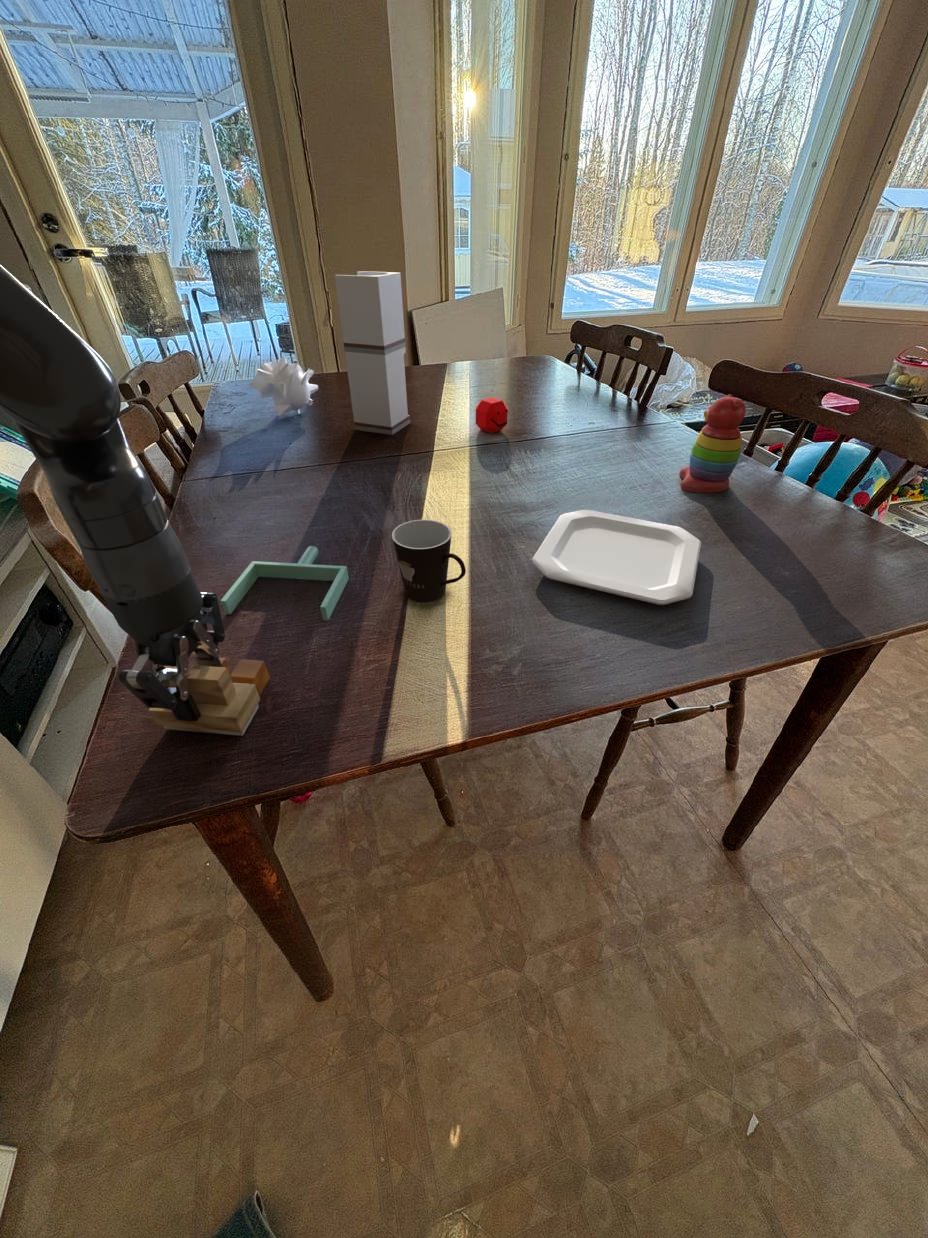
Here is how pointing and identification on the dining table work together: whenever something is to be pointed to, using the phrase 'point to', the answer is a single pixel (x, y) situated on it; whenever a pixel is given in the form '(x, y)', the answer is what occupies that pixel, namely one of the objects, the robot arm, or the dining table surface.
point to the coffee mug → (424, 558)
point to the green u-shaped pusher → (291, 571)
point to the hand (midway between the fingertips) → (203, 698)
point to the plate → (621, 556)
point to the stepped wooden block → (213, 703)
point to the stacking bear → (715, 448)
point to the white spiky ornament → (284, 385)
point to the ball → (491, 415)
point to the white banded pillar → (374, 349)
